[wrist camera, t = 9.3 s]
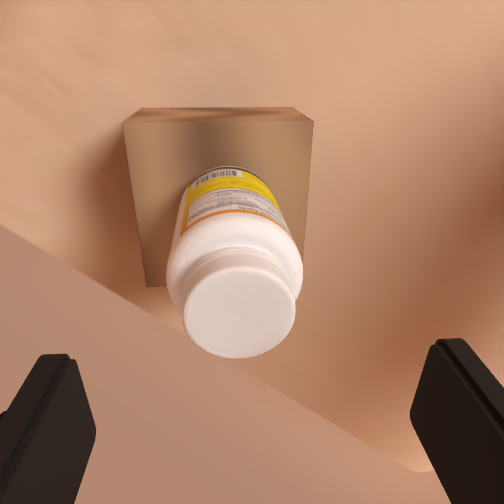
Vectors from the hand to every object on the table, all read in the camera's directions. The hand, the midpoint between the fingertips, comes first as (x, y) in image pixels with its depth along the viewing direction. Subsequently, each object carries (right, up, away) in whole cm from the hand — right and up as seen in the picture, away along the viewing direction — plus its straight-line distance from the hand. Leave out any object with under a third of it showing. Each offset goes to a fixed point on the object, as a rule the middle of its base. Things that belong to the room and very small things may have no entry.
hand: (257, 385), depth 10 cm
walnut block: (-2, +9, +17) cm, 19 cm away
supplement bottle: (-1, +6, +12) cm, 14 cm away
